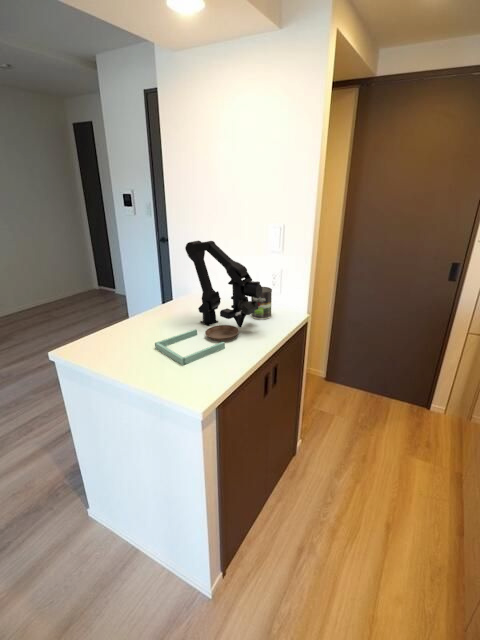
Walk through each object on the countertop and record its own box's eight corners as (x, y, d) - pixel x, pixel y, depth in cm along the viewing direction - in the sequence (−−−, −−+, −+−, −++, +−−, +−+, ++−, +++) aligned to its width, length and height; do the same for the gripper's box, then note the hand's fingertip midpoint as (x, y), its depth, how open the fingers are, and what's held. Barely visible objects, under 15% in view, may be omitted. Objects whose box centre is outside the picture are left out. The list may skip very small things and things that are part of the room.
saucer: (199, 341, 141) (199, 335, 140) (213, 328, 154) (212, 323, 153) (232, 345, 136) (232, 339, 135) (243, 331, 149) (243, 326, 148)
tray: (155, 348, 135) (154, 342, 134) (195, 334, 148) (195, 329, 147) (182, 365, 121) (182, 359, 120) (225, 348, 134) (224, 342, 133)
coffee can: (268, 320, 161) (268, 292, 156) (248, 318, 165) (247, 291, 160) (274, 313, 170) (274, 287, 165) (255, 311, 173) (255, 285, 168)
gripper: (235, 303, 134) (236, 338, 140) (266, 293, 146) (266, 326, 152) (218, 297, 142) (220, 331, 148) (249, 289, 154) (249, 320, 159)
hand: (240, 327), depth 151 cm, fingers closed
